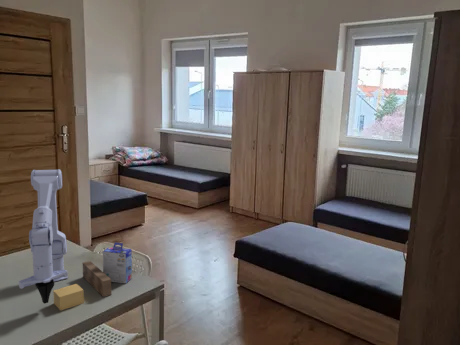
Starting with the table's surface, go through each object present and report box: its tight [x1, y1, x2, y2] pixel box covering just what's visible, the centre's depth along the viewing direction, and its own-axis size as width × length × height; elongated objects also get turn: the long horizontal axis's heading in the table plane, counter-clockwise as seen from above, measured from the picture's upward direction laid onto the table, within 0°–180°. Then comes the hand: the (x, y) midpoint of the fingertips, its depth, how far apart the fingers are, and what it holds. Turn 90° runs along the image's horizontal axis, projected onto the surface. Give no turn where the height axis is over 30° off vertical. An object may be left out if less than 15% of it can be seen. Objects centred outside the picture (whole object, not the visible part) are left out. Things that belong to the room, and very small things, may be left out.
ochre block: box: [52, 283, 85, 311], centre depth 138 cm, size 6×8×5 cm
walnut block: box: [82, 260, 112, 298], centre depth 152 cm, size 20×3×6 cm, turn 40°
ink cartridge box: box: [102, 242, 133, 284], centre depth 156 cm, size 10×6×14 cm, turn 78°
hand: (45, 301), depth 134 cm, fingers closed
